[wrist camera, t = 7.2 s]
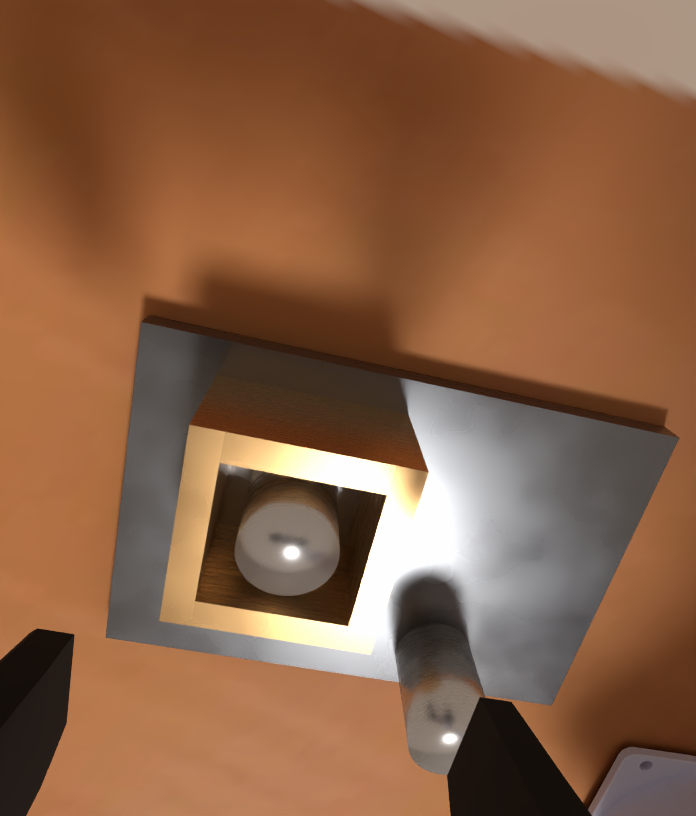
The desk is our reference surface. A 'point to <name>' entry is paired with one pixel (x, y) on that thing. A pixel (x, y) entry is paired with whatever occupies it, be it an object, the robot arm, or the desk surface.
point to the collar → (307, 459)
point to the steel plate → (435, 517)
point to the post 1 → (288, 534)
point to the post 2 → (436, 693)
